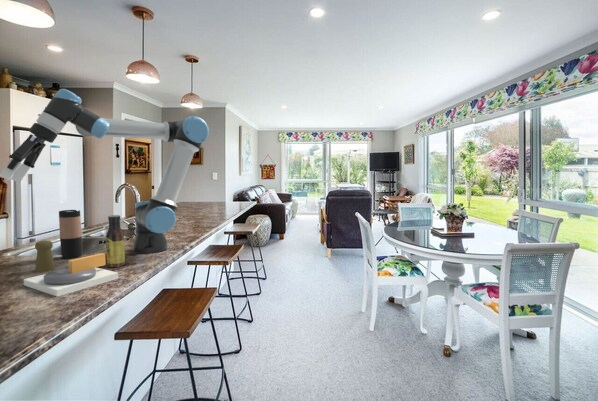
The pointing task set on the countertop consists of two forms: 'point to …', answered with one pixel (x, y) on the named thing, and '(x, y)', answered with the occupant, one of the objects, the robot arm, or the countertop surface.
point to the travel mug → (70, 234)
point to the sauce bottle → (115, 243)
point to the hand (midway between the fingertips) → (9, 179)
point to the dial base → (64, 289)
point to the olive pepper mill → (44, 256)
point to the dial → (76, 270)
